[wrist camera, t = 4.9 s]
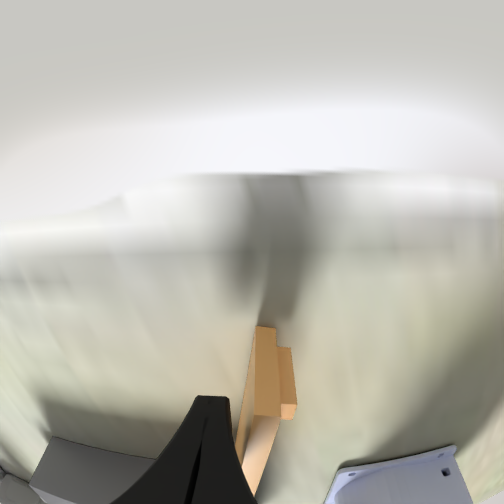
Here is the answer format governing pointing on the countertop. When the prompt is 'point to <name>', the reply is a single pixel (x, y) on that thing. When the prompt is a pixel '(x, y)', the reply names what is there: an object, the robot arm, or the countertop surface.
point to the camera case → (84, 473)
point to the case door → (264, 403)
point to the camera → (17, 491)
